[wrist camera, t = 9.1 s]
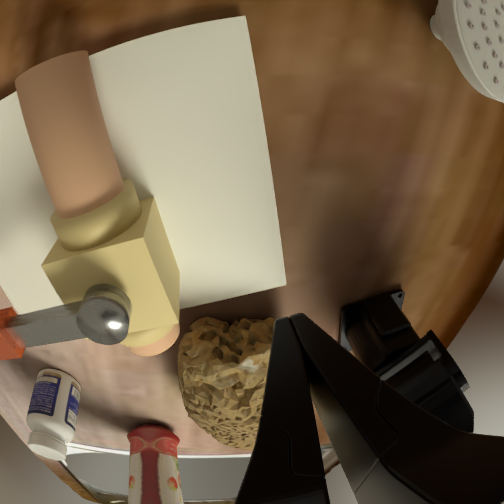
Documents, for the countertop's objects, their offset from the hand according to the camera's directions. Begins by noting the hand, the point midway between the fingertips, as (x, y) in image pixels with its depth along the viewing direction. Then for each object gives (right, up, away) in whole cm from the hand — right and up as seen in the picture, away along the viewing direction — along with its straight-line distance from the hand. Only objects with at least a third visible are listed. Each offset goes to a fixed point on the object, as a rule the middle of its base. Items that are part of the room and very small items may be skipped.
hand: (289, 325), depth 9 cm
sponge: (-2, -10, +21) cm, 24 cm away
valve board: (-11, +5, +9) cm, 15 cm away
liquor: (-14, -21, +25) cm, 36 cm away
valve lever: (-13, -2, +5) cm, 14 cm away
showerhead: (+12, +18, +5) cm, 23 cm away
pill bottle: (-22, -12, +18) cm, 31 cm away
